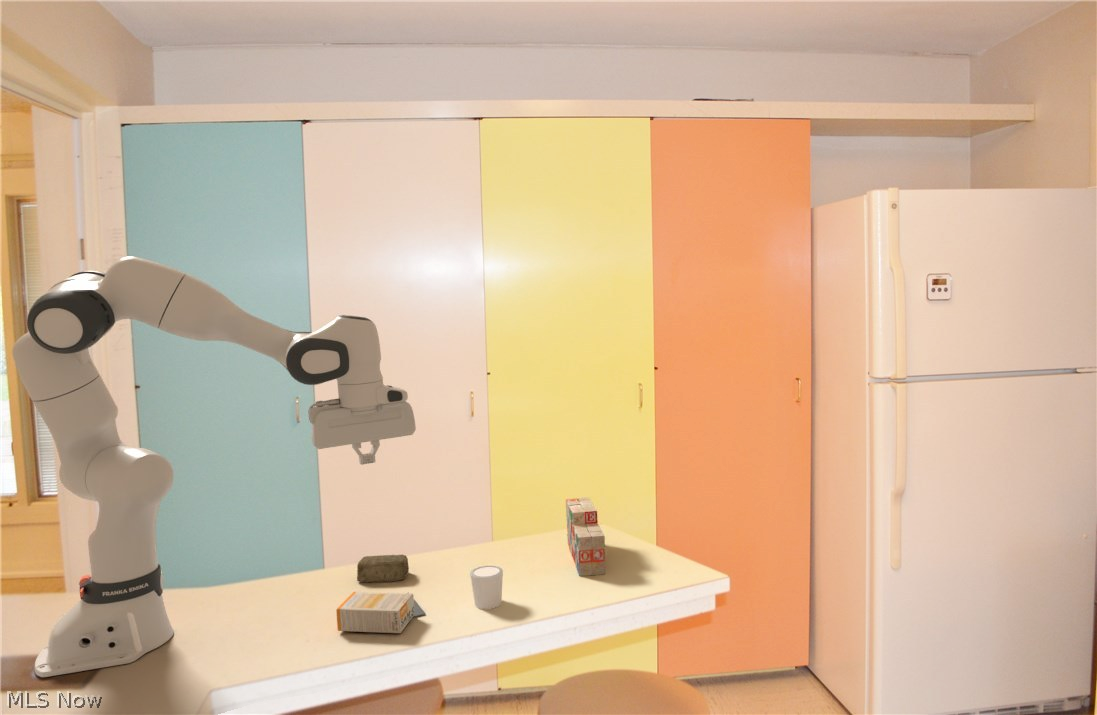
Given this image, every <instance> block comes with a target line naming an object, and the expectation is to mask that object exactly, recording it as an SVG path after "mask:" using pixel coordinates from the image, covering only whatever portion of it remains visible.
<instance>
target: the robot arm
mask: <svg viewBox="0 0 1097 715" xmlns="http://www.w3.org/2000/svg"><path fill="white" fill-rule="evenodd" d="M121 320H135V321H138V322H140V323H144V324H147V325H149V326H151V327H153V328H156V329H158V330H161V331H163V332H166V333H169V334H171V335H175V336H179V337H182V338H185V339H190V340H195V341H201V342H202V341H204V342H206V341H208V342H209V341H216V342H217V341H218V342H219V341H220V342H229V343H232V344H235V345H236V344H237V345H239V346H242V347H244V348H247V349H250V350H252V351H255V352H257V353H260V354H261V355H265V356H267V357H270V358H271V359H274V360H275V361H277V362H279V363H280V364H281V365H282V366H283V367H284V368H285V369H286V370H287V372H288V373H289V375H290V376H291V377H292V378H293V379H294V380H295V381H297V382H298V383H299V384H303V385H306V386H317V385H321V384H324V383H327V382H330V381H333V380H334V381H335V380H337V381H336V382H337V393H338V398H333V399H328V400H317V401H315V403H313V404H312V405H310V407H309V408H308V420H309V422H310V423H311V424H312V425H311V441H312V445H313V447H316V449H318V450H323V449H330V448H335V447H336V448H337V447H341V446H342V447H343V446H347V445H348V446H349V445H351V447H352V449H353V450H354V451H355V453H356V455H357V456H358V459H359V460H358V461H359V462H358V463H359V465H360V466H362V465H367V464H368V465H369V464H373V463H376V454H377V452H378V450H379V447H380V445H381V443H380V441H382V440H387V439H388V440H389V439H393V438H401V437H409V436H413V435H414V433H415V431H416V428H417V427H416V420H415V414H414V409H413V407H412V405H411V404H410V403H409V402H408V401H407V400H408V399H409V396H408V392H407V391H406V390H405V389H403V388H401V387H395V386H392V385H388V384H387V385H384V377H383V375H382V371H381V360H382V355H381V354H382V353H381V345H380V344H381V342H380V338H379V332H378V329H377V326H376V324H375V322H373V320H371V319H369V317H368V318H367V317H365V316H355V315H345V314H344V315H343V314H340V315H337V316H336V317H334V319H333V320H331V321H330V322H328V323H326V324H325V325H324V326H323V327H321V328H318V329H317V330H315V331H313V332H312V331H292V330H288V329H286V328H282V327H280V326H278V325H275V324H273V323H270V322H269V321H266V320H264V319H261V318H258V317H256V316H255V315H253V314H251V313H248V312H247V311H245V310H244V309H242V308H241V307H239V306H238V305H237V304H236V303H234V302H233V301H232V300H231V299H229V298H228V297H227V296H226V295H225V294H223V293H222V292H221V291H219V290H217V289H216V288H214V287H213V286H211V285H209V284H208V283H207V282H204V281H203V280H201V279H199V278H198V277H195V276H193V275H191V274H188V273H186V272H184V271H182V270H180V269H177V268H174V267H171V266H168V265H166V264H162V263H160V262H156V261H153V260H149V259H146V258H141V257H138V256H131V255H130V256H125V257H121V258H119V259H118V260H116V261H115V262H114V263H112V265H110V267H109V268H108V269H107V271H106V272H102V271H96V270H85V271H79V272H76V273H74V274H72V275H70V276H69V277H67V278H65V279H62V280H61V281H59V282H57V283H55V284H54V285H53V286H52V287H50V288H49V290H48V291H47V292H45V293H44V294H43V295H41V296H40V297H38V298H37V299H36V300H35V301H34V302H33V304H32V306H31V308H30V309H29V311H28V315H27V318H26V321H27V322H26V324H27V325H26V326H27V329H28V332H26V333H25V334H22V336H20V337H19V338H18V339H17V340H16V341H15V343H14V344H13V345H12V357H13V361H14V363H15V367H16V370H17V373H18V375H19V378H20V380H21V382H22V384H23V387H24V389H25V390H26V393H27V394H28V396H29V398H30V399H31V401H32V403H33V405H34V407H35V408H36V410H37V411H38V413H39V415H40V417H41V419H42V420H43V422H44V424H45V425H46V427H47V429H48V430H49V432H50V434H51V436H52V437H51V438H52V439H53V440H54V443H55V447H56V449H57V453H58V457H59V461H60V466H59V472H58V473H59V474H58V475H59V480H60V482H61V484H62V485H63V487H64V488H66V490H68V491H69V492H70V493H72V494H74V495H75V496H77V497H79V498H81V499H83V500H89V501H94V502H97V503H98V508H99V509H98V517H97V522H96V526H95V529H94V530H93V531H92V532H91V534H90V535H89V537H88V540H87V541H88V542H87V545H88V546H87V547H88V556H89V565H90V566H89V568H90V574H84V575H82V577H81V578H80V580H79V582H78V585H79V596H80V597H79V598H80V600H79V601H78V602H77V603H76V604H75V605H73V606H72V607H71V608H70V609H69V610H68V611H67V612H66V613H65V614H63V615H62V616H61V617H60V618H59V619H58V620H57V621H56V622H55V624H54V625H53V627H52V628H51V631H50V635H49V636H48V637H49V638H48V644H47V645H46V646H45V647H44V648H43V649H42V650H41V651H40V652H39V653H38V655H37V657H36V658H35V662H34V673H35V675H36V676H38V677H40V678H48V677H53V676H60V675H67V674H72V673H78V672H83V671H89V670H96V669H102V668H108V667H114V666H119V665H120V666H121V665H125V664H130V663H133V662H135V661H137V660H138V659H140V658H141V657H143V655H145V654H146V653H148V652H151V651H153V650H155V649H157V648H159V647H160V646H163V644H165V643H167V642H168V641H169V640H170V639H171V638H172V636H174V632H175V631H174V628H173V626H172V624H171V621H170V619H169V616H168V614H167V613H168V612H167V610H166V607H165V603H164V598H163V591H164V582H163V580H164V579H163V572H162V569H161V564H159V563H158V562H159V561H158V551H157V550H158V549H157V537H156V536H157V535H156V523H157V517H158V511H159V508H160V504H161V502H162V500H163V499H164V498H165V497H166V495H167V494H168V493H169V491H170V489H171V488H172V485H173V482H174V470H173V466H172V465H171V463H170V461H169V460H168V459H167V458H166V457H164V456H162V455H160V454H159V453H157V452H155V451H152V450H150V449H148V448H143V447H136V446H127V445H126V444H125V443H124V442H123V441H122V440H121V438H120V435H119V432H118V428H117V424H116V423H117V422H116V419H117V417H118V414H119V408H118V406H117V404H116V402H115V400H114V398H113V396H112V395H111V393H110V391H109V389H108V388H107V384H106V383H105V381H104V380H103V377H102V376H101V374H100V373H99V370H98V369H97V367H96V365H95V363H94V362H93V360H92V357H91V355H90V352H89V348H91V347H92V346H94V345H95V344H97V342H98V341H100V340H101V339H102V338H103V337H105V336H106V335H107V334H108V333H109V332H110V331H111V330H112V329H113V327H114V325H115V324H116V323H117V322H118V321H121ZM367 442H370V445H372V447H371V450H370V451H369V452H368V453H362V451H361V450H360V449H362V443H367Z"/></svg>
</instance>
